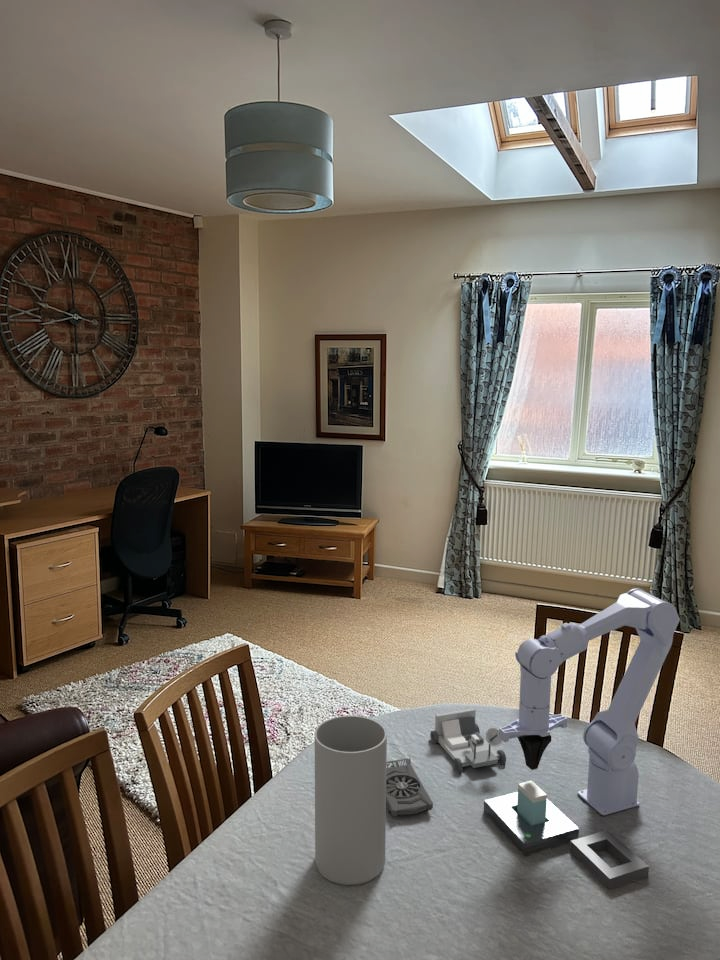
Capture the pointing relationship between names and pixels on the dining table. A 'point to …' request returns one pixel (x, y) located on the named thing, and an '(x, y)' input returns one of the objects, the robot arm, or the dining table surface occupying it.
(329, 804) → the cylinder vase
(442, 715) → the toy car
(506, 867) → the dining table surface
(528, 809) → the plug
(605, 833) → the holster
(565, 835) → the port panel
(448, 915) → the dining table surface
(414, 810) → the graphics card
